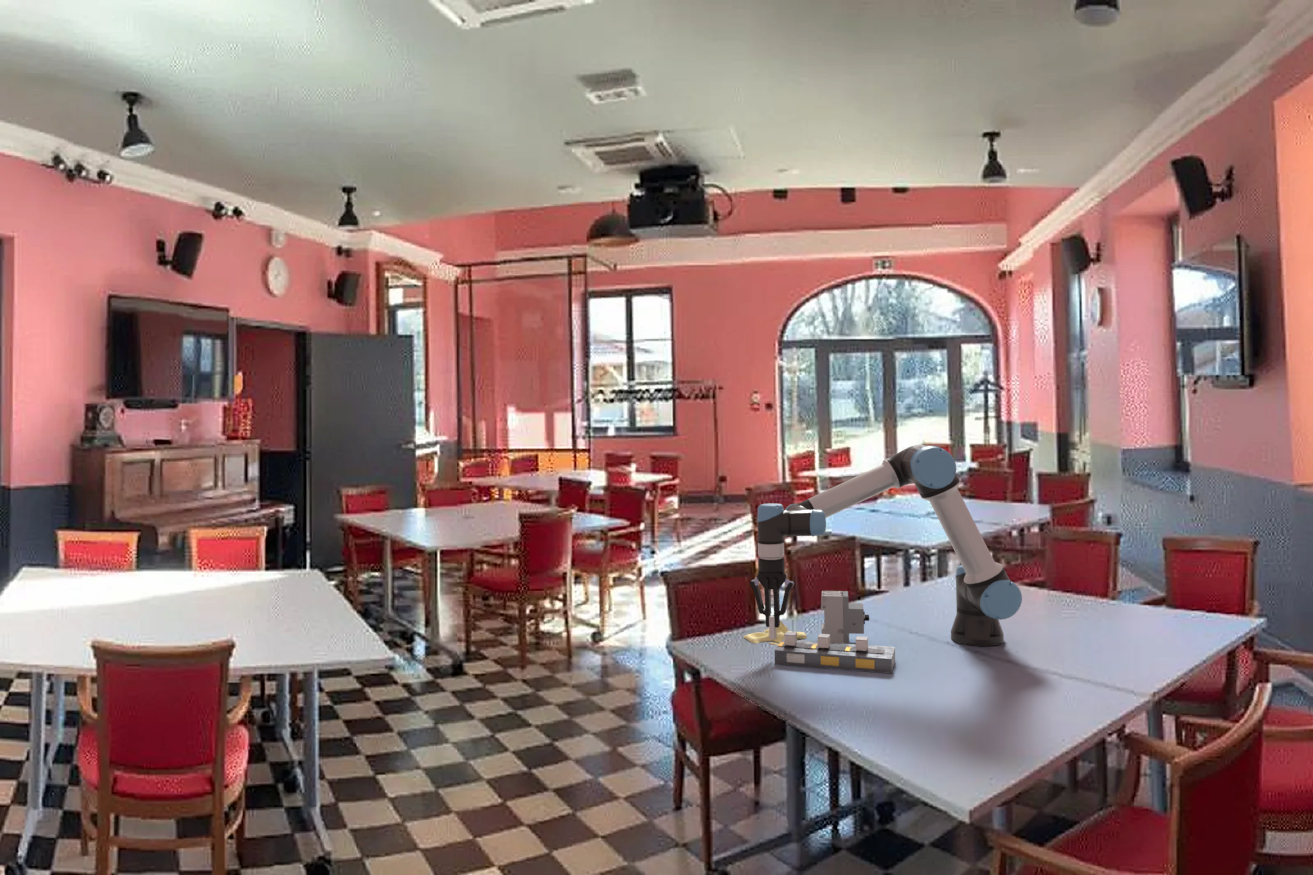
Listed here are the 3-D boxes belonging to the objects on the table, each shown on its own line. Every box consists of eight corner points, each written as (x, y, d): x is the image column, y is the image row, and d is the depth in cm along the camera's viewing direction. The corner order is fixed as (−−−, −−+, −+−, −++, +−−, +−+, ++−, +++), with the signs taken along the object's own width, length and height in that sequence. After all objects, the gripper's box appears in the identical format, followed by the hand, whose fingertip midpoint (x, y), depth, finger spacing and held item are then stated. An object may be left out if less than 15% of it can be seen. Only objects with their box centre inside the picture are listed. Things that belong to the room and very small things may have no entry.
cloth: (734, 642, 264) (734, 622, 264) (764, 629, 279) (763, 610, 279) (798, 653, 251) (798, 632, 251) (826, 638, 266) (825, 619, 265)
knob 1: (797, 642, 244) (797, 632, 244) (794, 645, 241) (794, 635, 240) (786, 641, 245) (786, 631, 245) (784, 645, 242) (784, 634, 241)
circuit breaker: (869, 646, 254) (869, 596, 254) (821, 644, 257) (820, 596, 256) (868, 639, 261) (867, 591, 261) (821, 638, 264) (821, 590, 264)
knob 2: (830, 644, 241) (830, 634, 241) (828, 648, 237) (828, 637, 237) (819, 644, 242) (819, 633, 242) (817, 647, 238) (817, 636, 238)
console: (895, 661, 239) (895, 646, 239) (891, 674, 227) (891, 658, 227) (783, 652, 250) (783, 638, 250) (774, 664, 238) (774, 649, 238)
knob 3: (868, 647, 237) (867, 636, 237) (866, 651, 234) (866, 640, 234) (857, 646, 238) (857, 636, 238) (855, 650, 235) (855, 639, 235)
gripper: (796, 555, 245) (797, 636, 246) (752, 554, 250) (754, 633, 250) (791, 560, 238) (792, 643, 239) (746, 558, 243) (747, 640, 243)
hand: (773, 638), depth 245 cm, fingers closed
